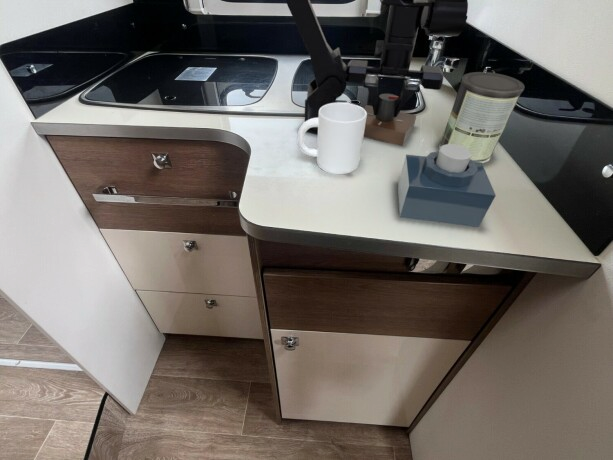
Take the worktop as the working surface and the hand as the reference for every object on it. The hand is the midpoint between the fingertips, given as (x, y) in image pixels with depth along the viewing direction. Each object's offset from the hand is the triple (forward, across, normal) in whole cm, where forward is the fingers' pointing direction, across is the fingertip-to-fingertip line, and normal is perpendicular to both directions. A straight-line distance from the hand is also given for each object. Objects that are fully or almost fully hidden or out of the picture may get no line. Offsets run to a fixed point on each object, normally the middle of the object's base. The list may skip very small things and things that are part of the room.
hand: (385, 115), depth 70 cm
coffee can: (+4, -17, +6) cm, 18 cm away
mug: (+4, +10, +17) cm, 20 cm away
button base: (+4, -9, +26) cm, 27 cm away
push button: (-4, -9, +26) cm, 28 cm away
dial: (0, 0, 0) cm, 0 cm away
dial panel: (+4, 0, 0) cm, 4 cm away
